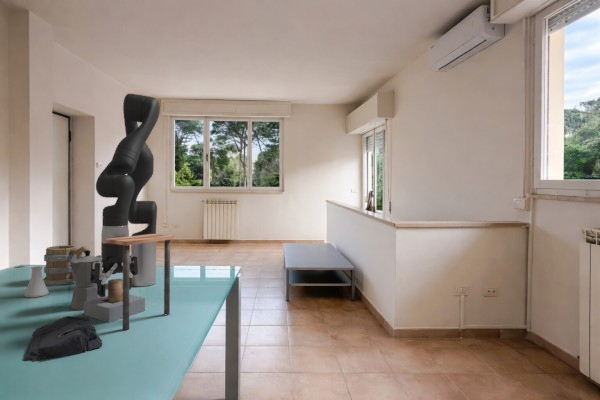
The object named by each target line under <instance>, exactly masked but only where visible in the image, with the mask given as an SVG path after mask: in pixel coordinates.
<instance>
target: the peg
mask: <svg viewBox="0 0 600 400" xmlns="http://www.w3.org/2000/svg"><path fill="white" fill-rule="evenodd" d="M107 296H108V303H112V304H113V303H117V302H120V301H123V278H112V279H109V280H108V281H107Z"/></svg>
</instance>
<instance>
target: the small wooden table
mask: <svg viewBox="0 0 600 400" xmlns="http://www.w3.org/2000/svg"><path fill="white" fill-rule="evenodd" d="M174 237H175V236H174V235H168V234H159V233H156V234H147V235H138V236H132V235H129V237H120V238H111V239H105V243H111V244H119V245H123V273H122V280H123V318H122V331H128V330H130V316H129V295H130V290H129V273H130V256H131V245H134V244H141V243H149V242H156V243H157V242H161V241H163V242H164V254H163V255H164V258H163V259H164V262H163V263H164V264H163V265H164V269H163V271H164V273H163V276H164V277H163V278H164V279H163V283H164V284H163V315H164V314H169V315H170V312H171V310H170V309H171V308H170V307H171V306H170V305H171V302H170V301H171V300H170V299H171V294H170V293H171V291H170V288H171V240H175V239H174Z"/></svg>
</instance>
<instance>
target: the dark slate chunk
mask: <svg viewBox="0 0 600 400" xmlns="http://www.w3.org/2000/svg"><path fill="white" fill-rule="evenodd" d="M102 346H103V340H102V339H101V337H100V335H98V334H97V330H96V327H95V326H94V325H93V324H92V322H91V319H90V318H89V316H85V315H83V316H78V315H77V316H71V315H68V316H67V315H66V316H64V317H61V318H59V319H57V320H56V319H55V320H54V321H53V322H51V323H47V324H45V325H42V326H40V327H38V328H36V329H35V330H34V331H33V333H32V337H31V339H30V341H29V343H28V347H27V350H26V355H25V357H24V361H25V362H27V361H28V362H29V361H31V362H33V363H35V362H39V361H45V360H49V359H50V360H51V359H60V358H65V357H70V356H74V355H76V356H77V355H80V354H82V353H86V352H90V351H91V352H92V350H95V349H96V350H97V349H99V348H101V347H102Z"/></svg>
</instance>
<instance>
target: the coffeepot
mask: <svg viewBox="0 0 600 400" xmlns="http://www.w3.org/2000/svg"><path fill="white" fill-rule="evenodd" d="M84 255H85V256H82V257H80V258H77V259H74V260H71V261H70V263H69V264H68V265H69V266H70V267H71V268H72V274H73V280H74V281H75V283H74V284H75V285H74V287H73V290H72V291H73V292H72V297H71V302H70V308H71V309H72V310H76V311H84V302H85V301H89V300H93V299H97V298H101V297H100V296H99V295H98V294H97V284H96V283H91V282H90V274H91V263H92V262H101V261H102V255H101V254H100V255H99V254H98V255H96V256H94V255H91V250H89V249H88V250H86V251H85V253H84ZM102 269H103V267H102V266H101V269H100V272H101V271H102ZM106 273H107V272H106ZM106 273H105V274H106Z"/></svg>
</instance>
